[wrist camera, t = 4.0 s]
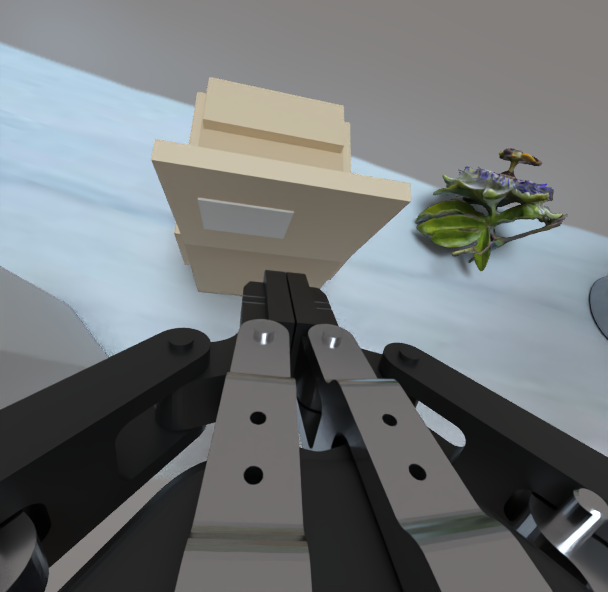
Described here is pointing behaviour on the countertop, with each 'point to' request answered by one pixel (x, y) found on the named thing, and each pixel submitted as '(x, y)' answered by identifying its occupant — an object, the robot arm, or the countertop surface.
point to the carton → (272, 145)
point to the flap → (273, 203)
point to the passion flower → (487, 208)
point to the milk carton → (38, 340)
